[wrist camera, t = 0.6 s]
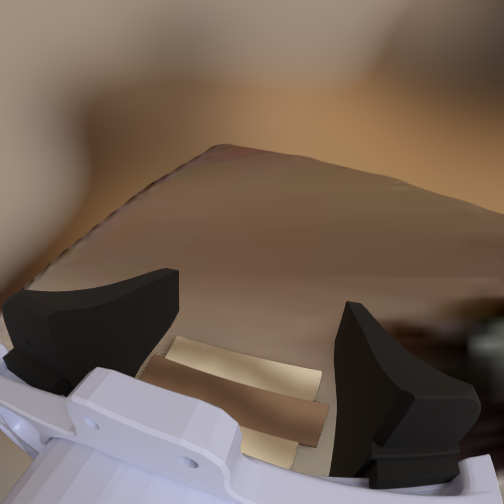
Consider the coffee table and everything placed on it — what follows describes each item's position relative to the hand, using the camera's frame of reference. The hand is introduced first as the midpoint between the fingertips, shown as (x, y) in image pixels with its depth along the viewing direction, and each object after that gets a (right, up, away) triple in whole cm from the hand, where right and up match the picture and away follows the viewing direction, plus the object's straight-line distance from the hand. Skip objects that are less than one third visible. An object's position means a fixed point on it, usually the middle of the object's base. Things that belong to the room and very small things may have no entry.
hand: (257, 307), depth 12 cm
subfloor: (-4, -15, +11) cm, 19 cm away
